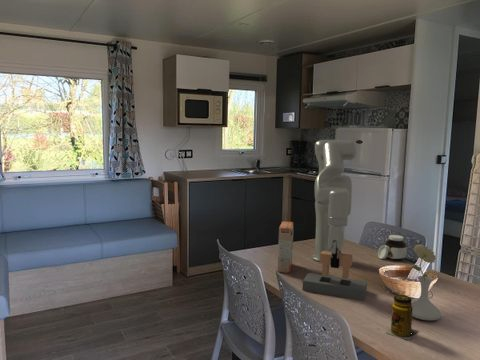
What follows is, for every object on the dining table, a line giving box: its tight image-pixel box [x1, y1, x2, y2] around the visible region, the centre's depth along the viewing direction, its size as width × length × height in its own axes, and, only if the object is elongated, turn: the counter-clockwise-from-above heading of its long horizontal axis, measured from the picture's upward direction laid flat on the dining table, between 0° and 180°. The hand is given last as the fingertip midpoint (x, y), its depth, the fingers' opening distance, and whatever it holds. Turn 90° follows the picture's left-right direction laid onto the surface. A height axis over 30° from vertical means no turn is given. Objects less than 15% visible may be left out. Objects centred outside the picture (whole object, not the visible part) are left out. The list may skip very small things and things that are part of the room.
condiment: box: [386, 294, 418, 341], centre depth 132 cm, size 7×8×12 cm
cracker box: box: [277, 221, 294, 274], centre depth 192 cm, size 14×6×21 cm, turn 168°
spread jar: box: [377, 234, 408, 262], centre depth 208 cm, size 12×11×12 cm
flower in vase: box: [411, 244, 442, 321], centre depth 144 cm, size 13×11×25 cm
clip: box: [319, 251, 353, 279], centre depth 165 cm, size 4×12×9 cm, turn 67°
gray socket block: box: [302, 272, 368, 301], centre depth 166 cm, size 10×24×4 cm, turn 67°
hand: (335, 265), depth 165 cm, fingers closed on clip, 4 cm apart
